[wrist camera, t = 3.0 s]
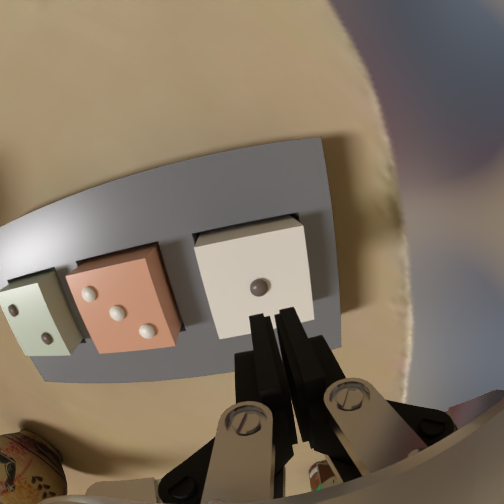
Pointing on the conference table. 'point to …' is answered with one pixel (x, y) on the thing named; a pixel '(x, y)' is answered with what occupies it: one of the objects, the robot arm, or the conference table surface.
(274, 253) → the button one dot
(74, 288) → the button three dots
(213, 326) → the console
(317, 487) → the food container
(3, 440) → the ceramic jug
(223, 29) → the conference table surface
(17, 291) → the button two dots
